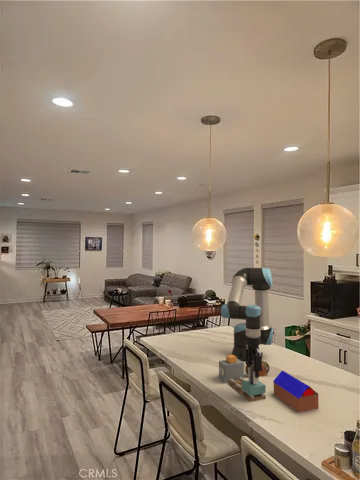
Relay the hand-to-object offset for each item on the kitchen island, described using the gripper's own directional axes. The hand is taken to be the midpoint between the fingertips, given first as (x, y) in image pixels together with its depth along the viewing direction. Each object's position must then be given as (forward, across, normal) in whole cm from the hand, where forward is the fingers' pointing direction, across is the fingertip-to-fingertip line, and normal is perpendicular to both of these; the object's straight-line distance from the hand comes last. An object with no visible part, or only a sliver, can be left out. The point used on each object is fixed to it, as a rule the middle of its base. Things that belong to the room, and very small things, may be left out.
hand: (253, 381), depth 162 cm
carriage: (+5, 0, 0) cm, 5 cm away
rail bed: (+8, -7, 0) cm, 10 cm away
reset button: (-3, -23, 0) cm, 23 cm away
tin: (+8, -22, +17) cm, 29 cm away
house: (+8, +11, +17) cm, 22 cm away
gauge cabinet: (+8, -23, 0) cm, 24 cm away
